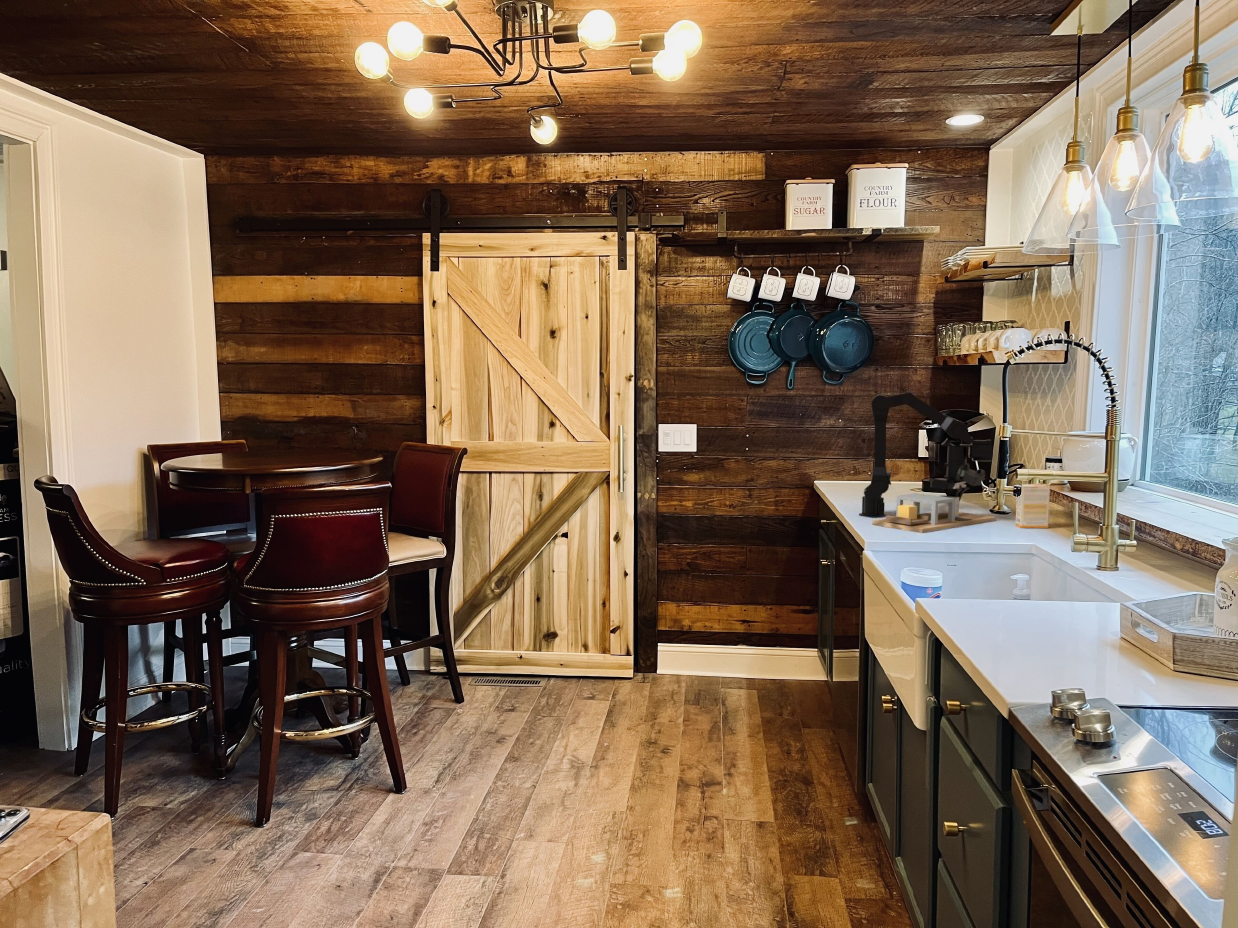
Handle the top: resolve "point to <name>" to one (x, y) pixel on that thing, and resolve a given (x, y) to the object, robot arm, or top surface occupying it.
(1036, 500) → the supplement box
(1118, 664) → the top surface
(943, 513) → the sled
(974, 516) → the base board
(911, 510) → the ochre block
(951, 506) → the grey small table
